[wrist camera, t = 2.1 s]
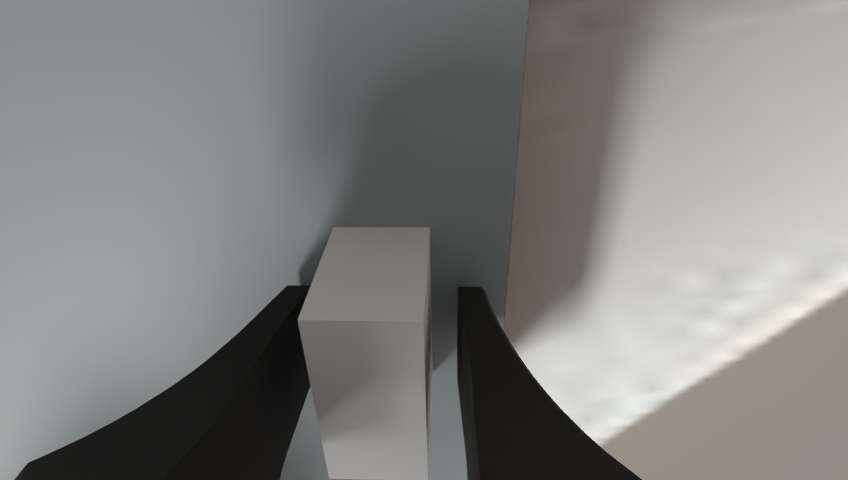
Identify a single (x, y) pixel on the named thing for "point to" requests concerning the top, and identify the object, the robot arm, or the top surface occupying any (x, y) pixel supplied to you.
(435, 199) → the lid
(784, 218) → the top surface
